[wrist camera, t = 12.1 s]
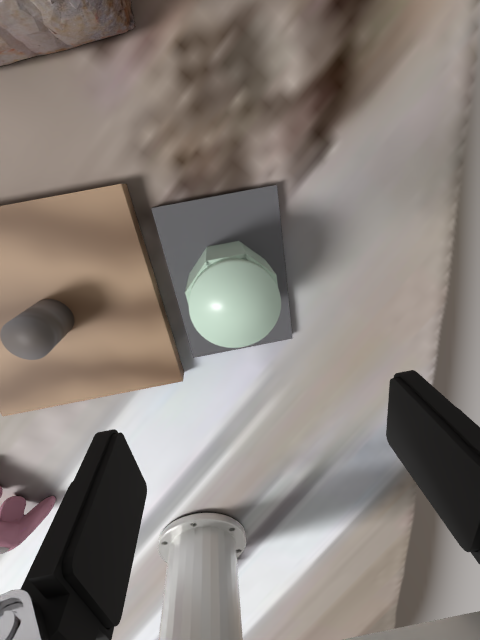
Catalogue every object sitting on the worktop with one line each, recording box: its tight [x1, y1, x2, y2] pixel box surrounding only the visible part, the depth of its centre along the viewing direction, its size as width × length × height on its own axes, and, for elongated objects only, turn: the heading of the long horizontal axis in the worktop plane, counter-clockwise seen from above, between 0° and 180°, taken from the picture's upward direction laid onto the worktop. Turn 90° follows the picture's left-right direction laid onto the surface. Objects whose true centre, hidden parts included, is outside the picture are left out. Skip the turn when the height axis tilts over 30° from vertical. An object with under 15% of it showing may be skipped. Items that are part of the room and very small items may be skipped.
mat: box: [151, 185, 292, 358], centre depth 26 cm, size 14×10×1 cm
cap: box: [185, 241, 281, 348], centre depth 23 cm, size 7×7×6 cm
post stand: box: [0, 184, 184, 416], centre depth 24 cm, size 18×18×6 cm
